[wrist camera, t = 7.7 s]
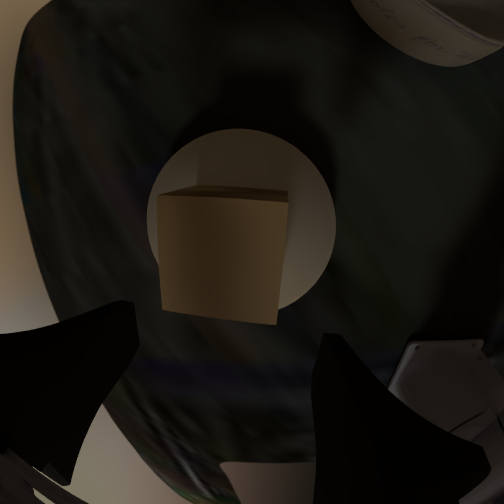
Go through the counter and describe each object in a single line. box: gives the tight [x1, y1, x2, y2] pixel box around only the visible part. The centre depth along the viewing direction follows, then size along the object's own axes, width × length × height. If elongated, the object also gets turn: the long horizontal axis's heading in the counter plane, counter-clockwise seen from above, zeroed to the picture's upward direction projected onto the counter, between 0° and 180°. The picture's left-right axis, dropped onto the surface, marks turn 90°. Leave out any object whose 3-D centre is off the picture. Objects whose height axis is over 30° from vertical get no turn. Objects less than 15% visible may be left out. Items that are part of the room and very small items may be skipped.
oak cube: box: [157, 185, 289, 325], centre depth 13 cm, size 5×5×5 cm
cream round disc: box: [147, 129, 336, 309], centre depth 17 cm, size 11×11×3 cm
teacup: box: [350, 0, 504, 67], centre depth 8 cm, size 14×11×8 cm
